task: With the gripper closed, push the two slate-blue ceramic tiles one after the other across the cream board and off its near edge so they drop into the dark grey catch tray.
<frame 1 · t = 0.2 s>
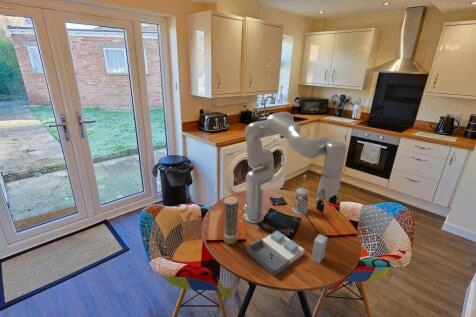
hand: (326, 207, 107), 30 cm above the table, fingers open, 9 cm apart
french press: (298, 210, 158), on the table
catch tray: (266, 258, 118), on the table
tile b: (277, 238, 127), point 3 cm above the table, touching board
tile a: (290, 248, 121), point 3 cm above the table, touching board
paper tube: (230, 241, 130), on the table
board: (281, 249, 125), on the table
skincare box: (317, 258, 119), on the table
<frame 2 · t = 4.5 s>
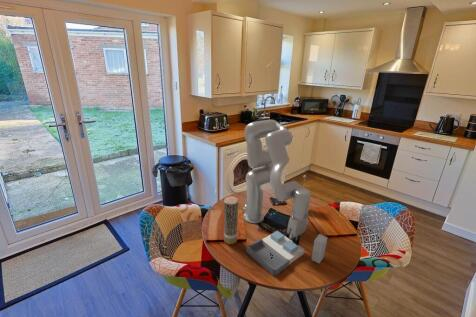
hand: (295, 244, 123), 4 cm above the table, fingers closed
tile a: (289, 249, 120), point 3 cm above the table, touching gripper
everything else where it was.
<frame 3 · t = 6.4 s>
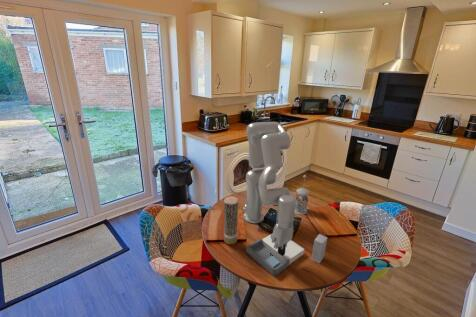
hand: (281, 253, 116), 4 cm above the table, fingers closed
tile a: (272, 261, 113), point 3 cm above the table, tilted 180°, touching catch tray
everything else where it was.
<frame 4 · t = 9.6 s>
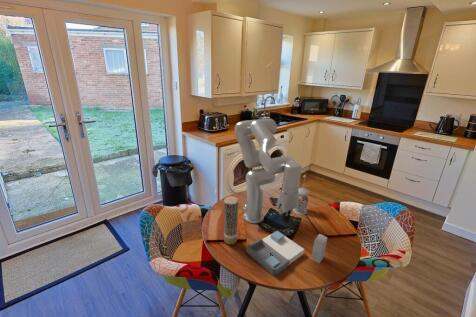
hand: (285, 220, 120), 16 cm above the table, fingers closed
nothing on the table moved.
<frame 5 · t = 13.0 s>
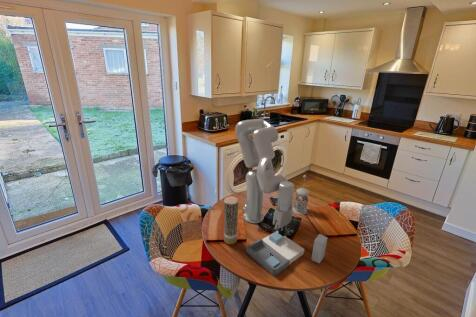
hand: (281, 235, 129), 4 cm above the table, fingers closed
tile b: (275, 239, 127), point 3 cm above the table, touching gripper
everything else where it was.
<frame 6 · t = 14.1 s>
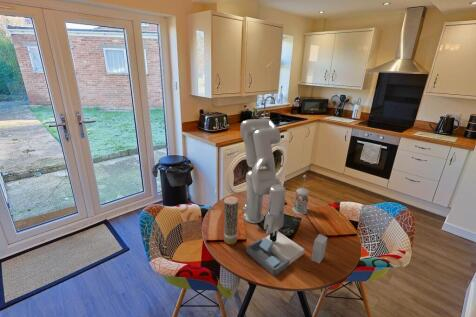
hand: (272, 240, 125), 4 cm above the table, fingers closed
tile b: (267, 245, 123), point 3 cm above the table, tilted 48°
everything else where it was.
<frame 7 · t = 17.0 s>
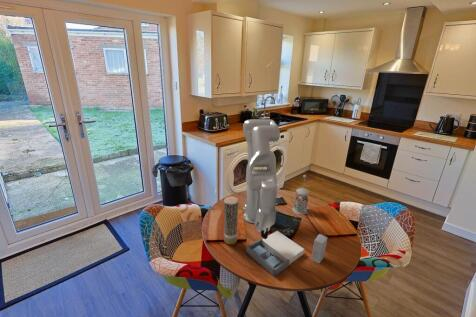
hand: (264, 237, 121), 8 cm above the table, fingers closed
tile b: (259, 250, 119), point 3 cm above the table, tilted 180°, touching catch tray
everything else where it was.
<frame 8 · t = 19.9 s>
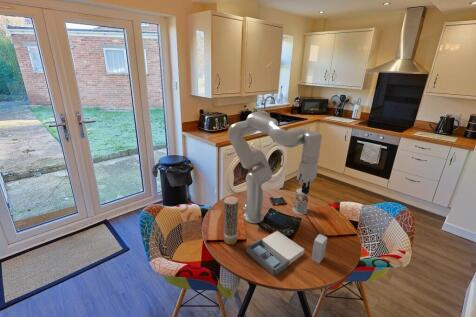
hand: (305, 192, 120), 29 cm above the table, fingers closed
nothing on the table moved.
at the end: tile a inside the target area on the catch tray (4.7 cm from its centre), point 3.0 cm above the catch tray's base; tile b inside the target area on the catch tray (4.3 cm from its centre), point 3.0 cm above the catch tray's base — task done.
